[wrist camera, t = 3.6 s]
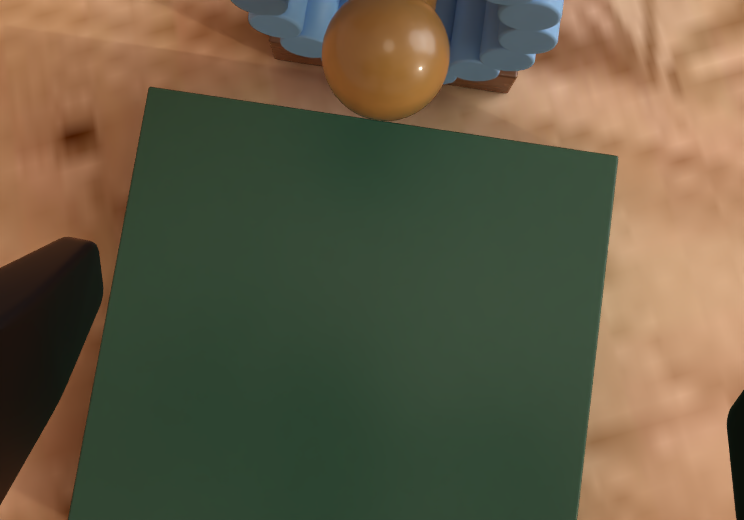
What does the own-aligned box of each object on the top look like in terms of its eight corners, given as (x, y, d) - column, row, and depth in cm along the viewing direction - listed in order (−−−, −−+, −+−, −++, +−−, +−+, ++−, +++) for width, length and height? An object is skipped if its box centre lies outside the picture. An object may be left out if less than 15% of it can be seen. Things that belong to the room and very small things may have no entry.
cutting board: (553, 597, 22) (566, 616, 21) (83, 527, 22) (62, 540, 21) (603, 166, 24) (619, 155, 22) (161, 101, 24) (148, 85, 22)
